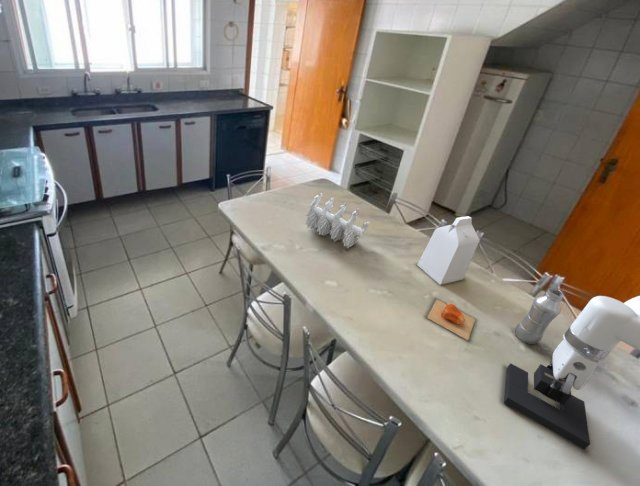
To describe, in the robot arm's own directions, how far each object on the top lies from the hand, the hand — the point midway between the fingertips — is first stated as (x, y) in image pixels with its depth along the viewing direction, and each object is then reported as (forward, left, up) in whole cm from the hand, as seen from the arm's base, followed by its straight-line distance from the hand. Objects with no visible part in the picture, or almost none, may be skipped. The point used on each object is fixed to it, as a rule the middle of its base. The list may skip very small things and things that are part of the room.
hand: (549, 387), depth 87 cm
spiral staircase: (+75, -28, -4) cm, 80 cm away
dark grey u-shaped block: (0, +3, -4) cm, 5 cm away
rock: (+24, -13, -5) cm, 28 cm away
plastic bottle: (+4, -21, -4) cm, 22 cm away
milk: (+32, -37, -4) cm, 49 cm away
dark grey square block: (0, 0, -1) cm, 1 cm away
